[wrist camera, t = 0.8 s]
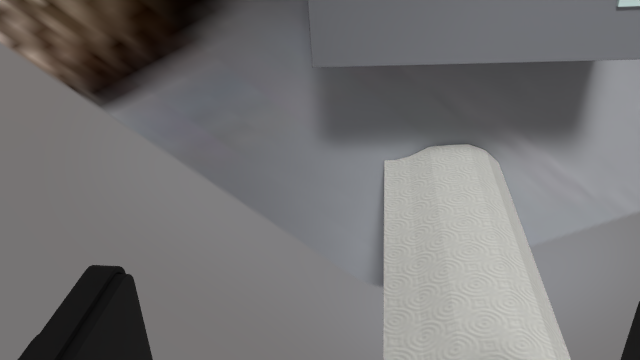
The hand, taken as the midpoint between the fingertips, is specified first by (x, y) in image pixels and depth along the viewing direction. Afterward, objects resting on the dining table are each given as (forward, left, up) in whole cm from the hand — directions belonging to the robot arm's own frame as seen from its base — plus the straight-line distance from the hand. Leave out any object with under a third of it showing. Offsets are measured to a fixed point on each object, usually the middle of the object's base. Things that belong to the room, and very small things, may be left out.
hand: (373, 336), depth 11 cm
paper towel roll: (+11, +5, -27) cm, 29 cm away
